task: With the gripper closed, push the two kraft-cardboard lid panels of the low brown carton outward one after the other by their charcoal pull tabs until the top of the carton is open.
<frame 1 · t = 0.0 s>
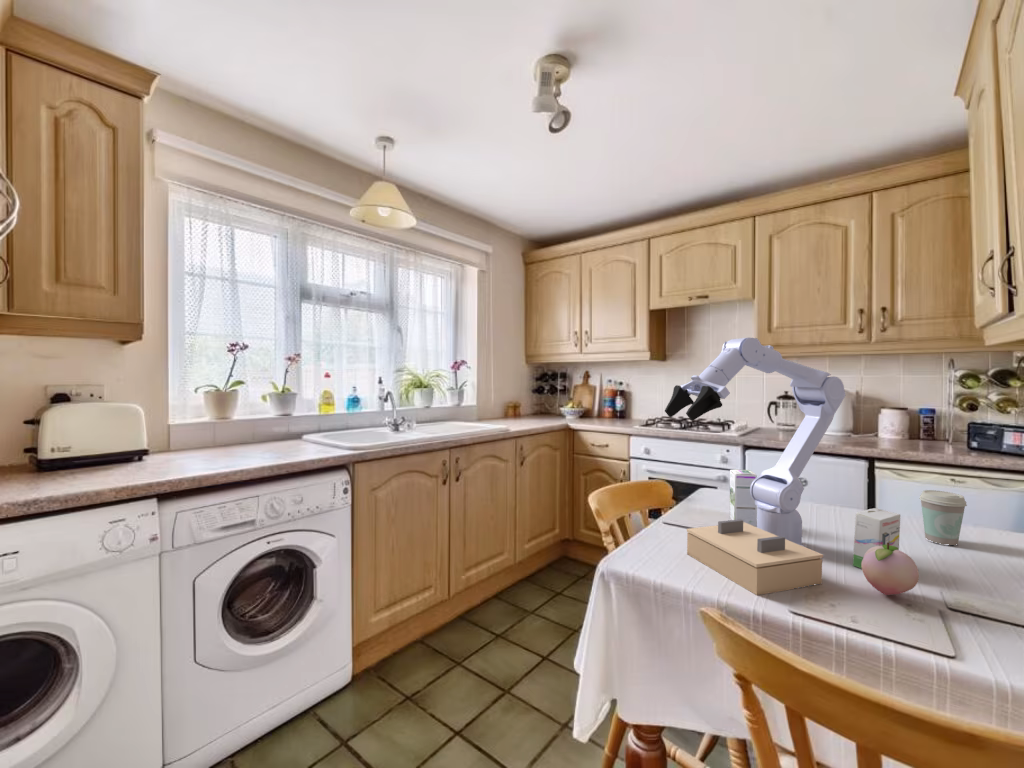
hand: (678, 415, 101), 32 cm above the table, tool tilted 50°, fingers open, 7 cm apart
lid panel 2: (732, 528, 102), point 7 cm above the table, slide at 0.0 cm
ink box: (875, 567, 98), on the table
coffee cup: (941, 542, 112), on the table
white printed box: (742, 523, 126), on the table
lid panel 1: (769, 545, 92), point 7 cm above the table, slide at 0.0 cm
decorative fruit: (889, 596, 85), on the table
carton: (749, 568, 97), on the table
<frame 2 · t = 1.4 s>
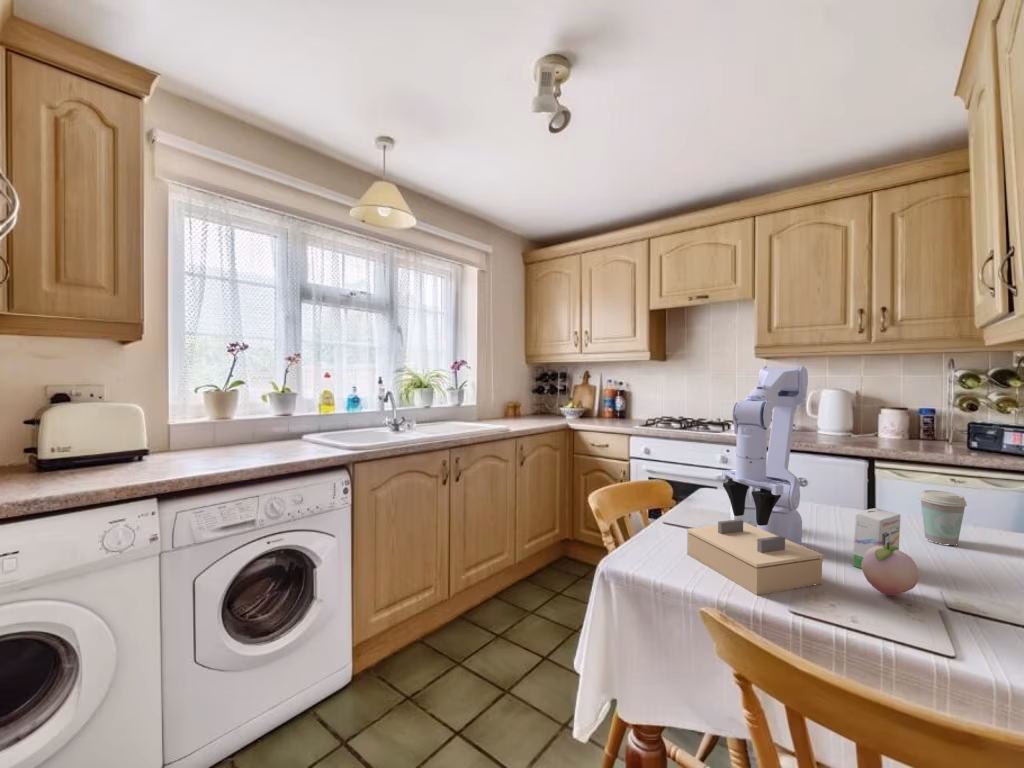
hand: (750, 519, 97), 10 cm above the table, tool pointing down, fingers open, 6 cm apart
nothing on the table moved.
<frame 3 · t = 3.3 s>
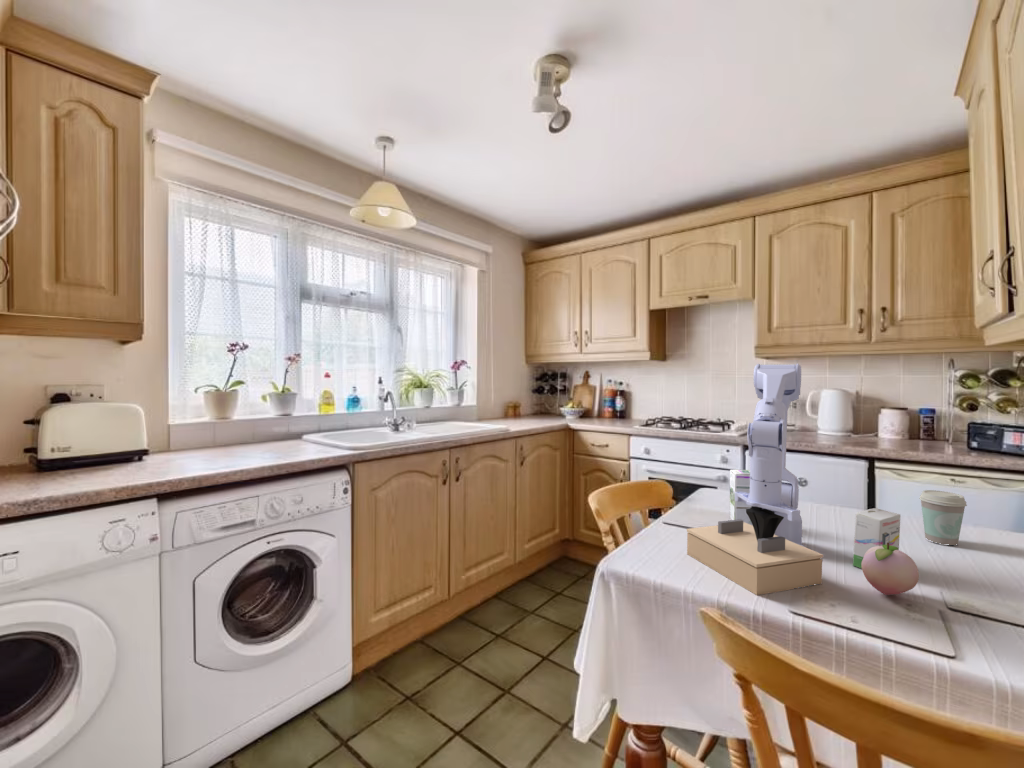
hand: (764, 544, 93), 6 cm above the table, tool pointing down, fingers closed
lid panel 1: (769, 545, 92), point 7 cm above the table, slide at 0.0 cm, touching gripper
everything else where it was.
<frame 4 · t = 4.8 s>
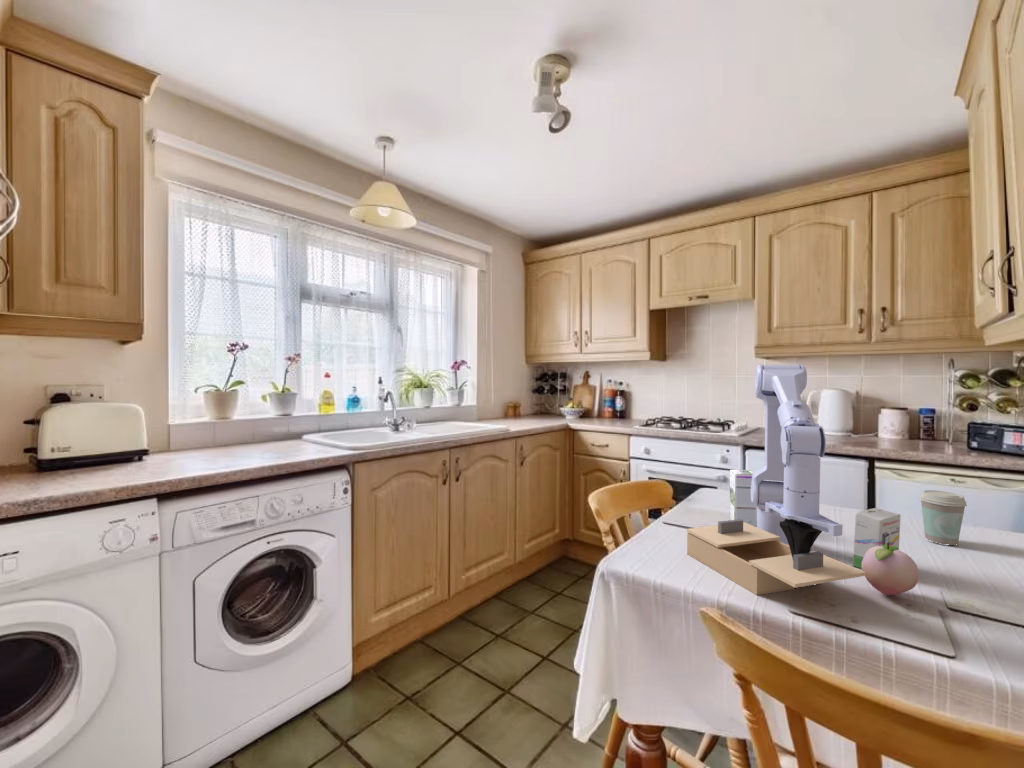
hand: (799, 560, 85), 6 cm above the table, tool pointing down, fingers closed
lid panel 1: (805, 561, 84), point 7 cm above the table, slide at 8.2 cm, touching gripper
everything else where it was.
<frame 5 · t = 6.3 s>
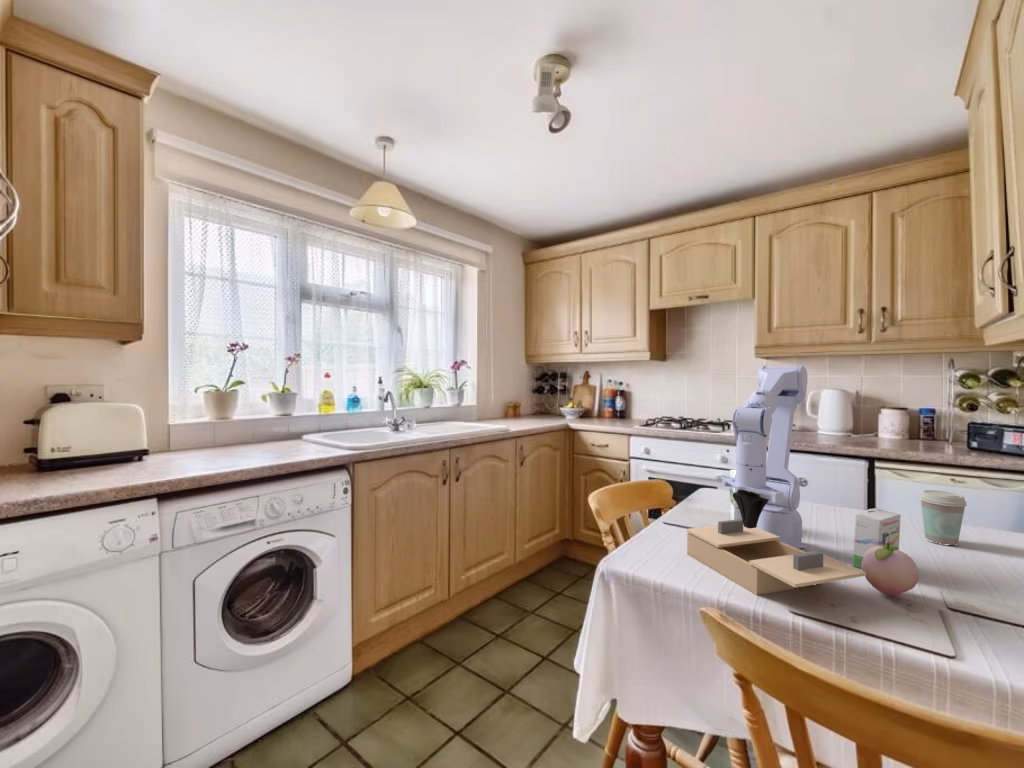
hand: (749, 527, 97), 9 cm above the table, tool pointing down, fingers closed
lid panel 1: (805, 561, 84), point 7 cm above the table, slide at 8.2 cm
everything else where it was.
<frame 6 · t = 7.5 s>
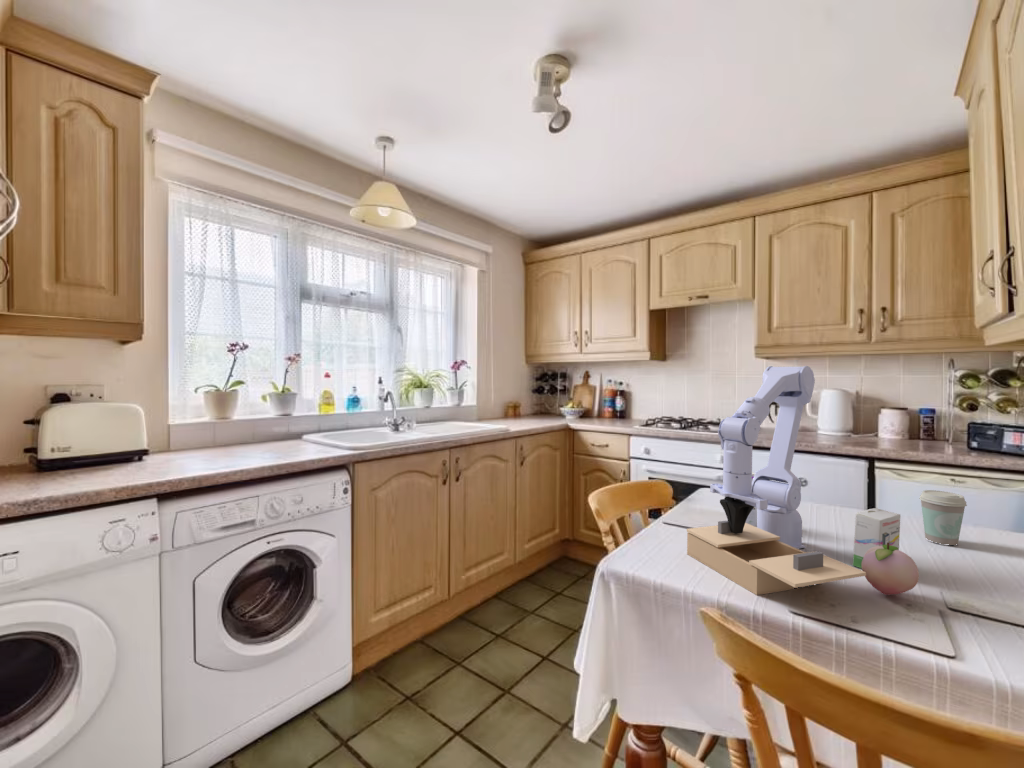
hand: (736, 532, 100), 6 cm above the table, tool pointing down, fingers closed
lid panel 2: (732, 528, 102), point 7 cm above the table, slide at 0.0 cm, touching gripper
everything else where it was.
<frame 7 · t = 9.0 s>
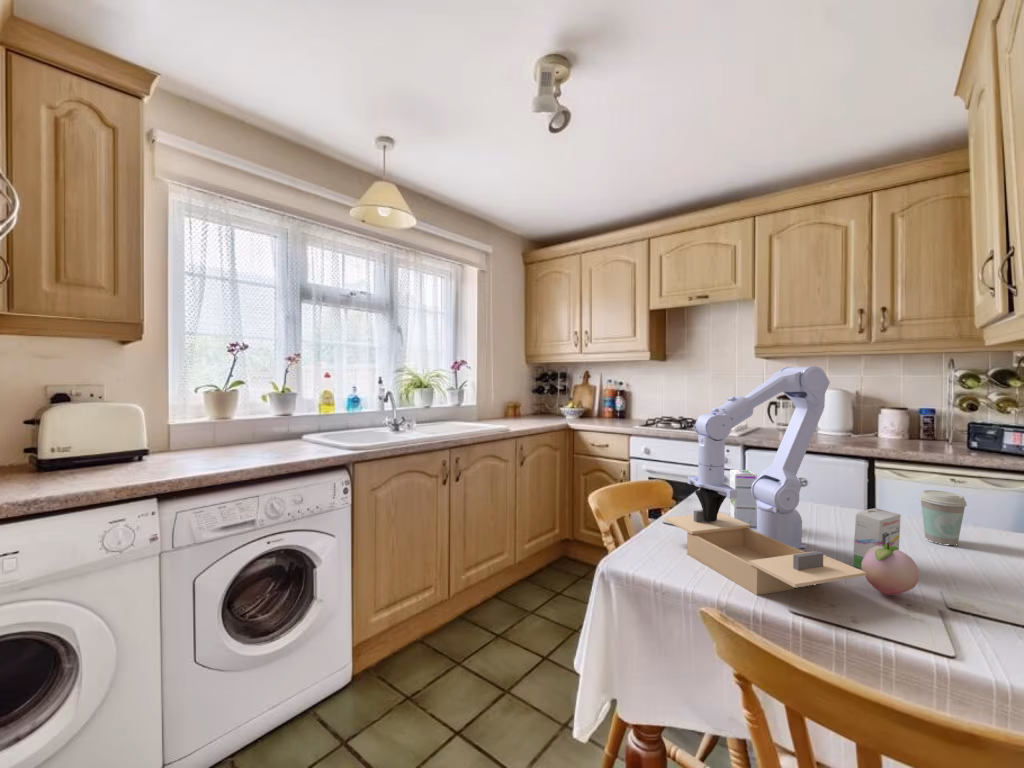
hand: (710, 520, 108), 6 cm above the table, tool pointing down, fingers closed
lid panel 2: (706, 517, 109), point 7 cm above the table, slide at 8.2 cm, touching gripper
everything else where it was.
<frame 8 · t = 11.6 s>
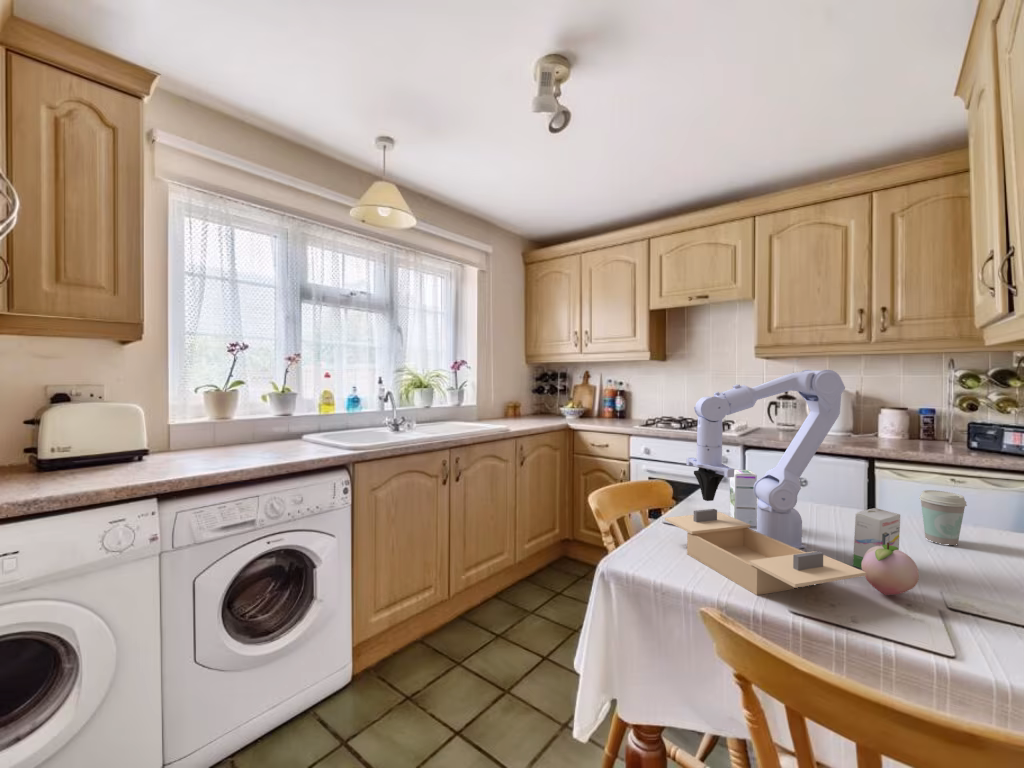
hand: (708, 500, 112), 10 cm above the table, tool pointing down, fingers closed
lid panel 2: (706, 517, 109), point 7 cm above the table, slide at 8.2 cm
everything else where it was.
at the end: lid panel 1 slide at 8.2 cm; lid panel 2 slide at 8.2 cm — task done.
